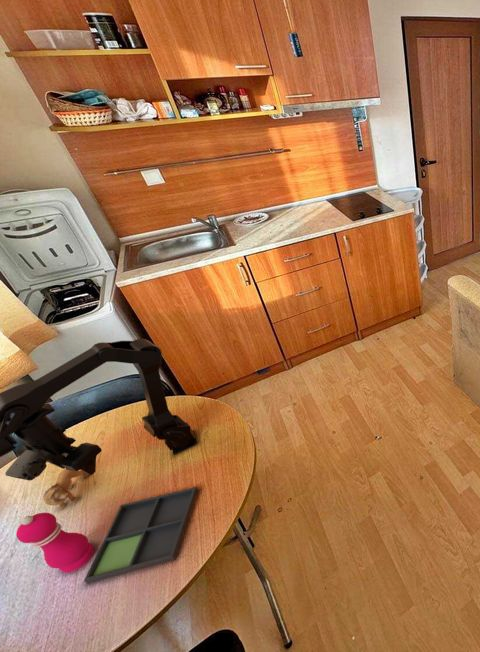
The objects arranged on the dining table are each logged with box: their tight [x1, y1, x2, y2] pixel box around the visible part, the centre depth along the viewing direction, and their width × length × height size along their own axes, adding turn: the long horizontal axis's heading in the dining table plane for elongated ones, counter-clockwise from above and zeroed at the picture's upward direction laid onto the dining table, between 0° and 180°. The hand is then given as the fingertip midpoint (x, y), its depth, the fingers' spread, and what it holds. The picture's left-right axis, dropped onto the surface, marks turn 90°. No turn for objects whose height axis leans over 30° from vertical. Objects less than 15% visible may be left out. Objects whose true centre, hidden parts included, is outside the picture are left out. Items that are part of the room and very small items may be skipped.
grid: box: [83, 486, 199, 585], centre depth 97 cm, size 18×18×2 cm
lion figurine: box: [42, 468, 88, 510], centre depth 104 cm, size 15×5×9 cm, turn 33°
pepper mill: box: [15, 512, 95, 574], centre depth 87 cm, size 7×7×20 cm
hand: (79, 470), depth 98 cm, fingers open, 9 cm apart
